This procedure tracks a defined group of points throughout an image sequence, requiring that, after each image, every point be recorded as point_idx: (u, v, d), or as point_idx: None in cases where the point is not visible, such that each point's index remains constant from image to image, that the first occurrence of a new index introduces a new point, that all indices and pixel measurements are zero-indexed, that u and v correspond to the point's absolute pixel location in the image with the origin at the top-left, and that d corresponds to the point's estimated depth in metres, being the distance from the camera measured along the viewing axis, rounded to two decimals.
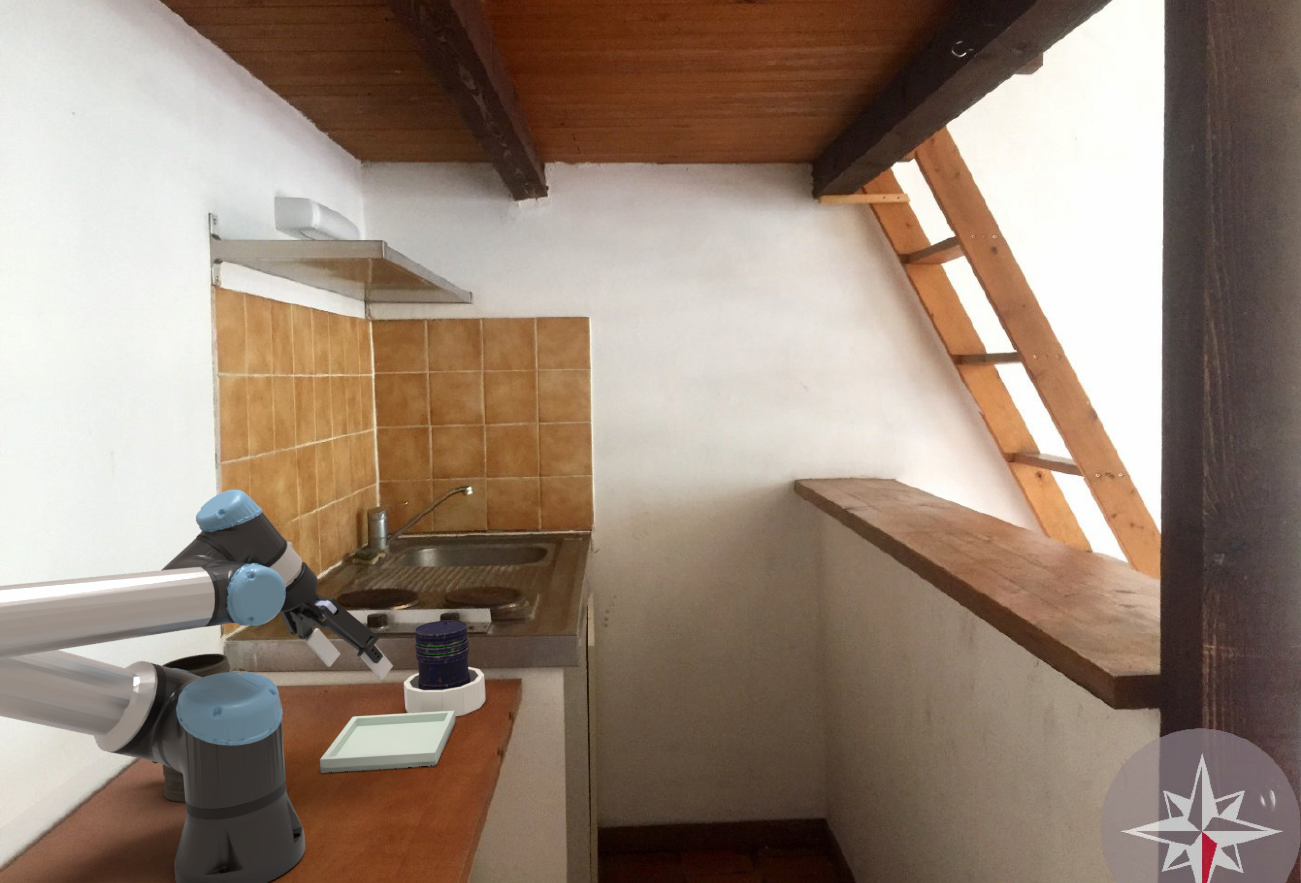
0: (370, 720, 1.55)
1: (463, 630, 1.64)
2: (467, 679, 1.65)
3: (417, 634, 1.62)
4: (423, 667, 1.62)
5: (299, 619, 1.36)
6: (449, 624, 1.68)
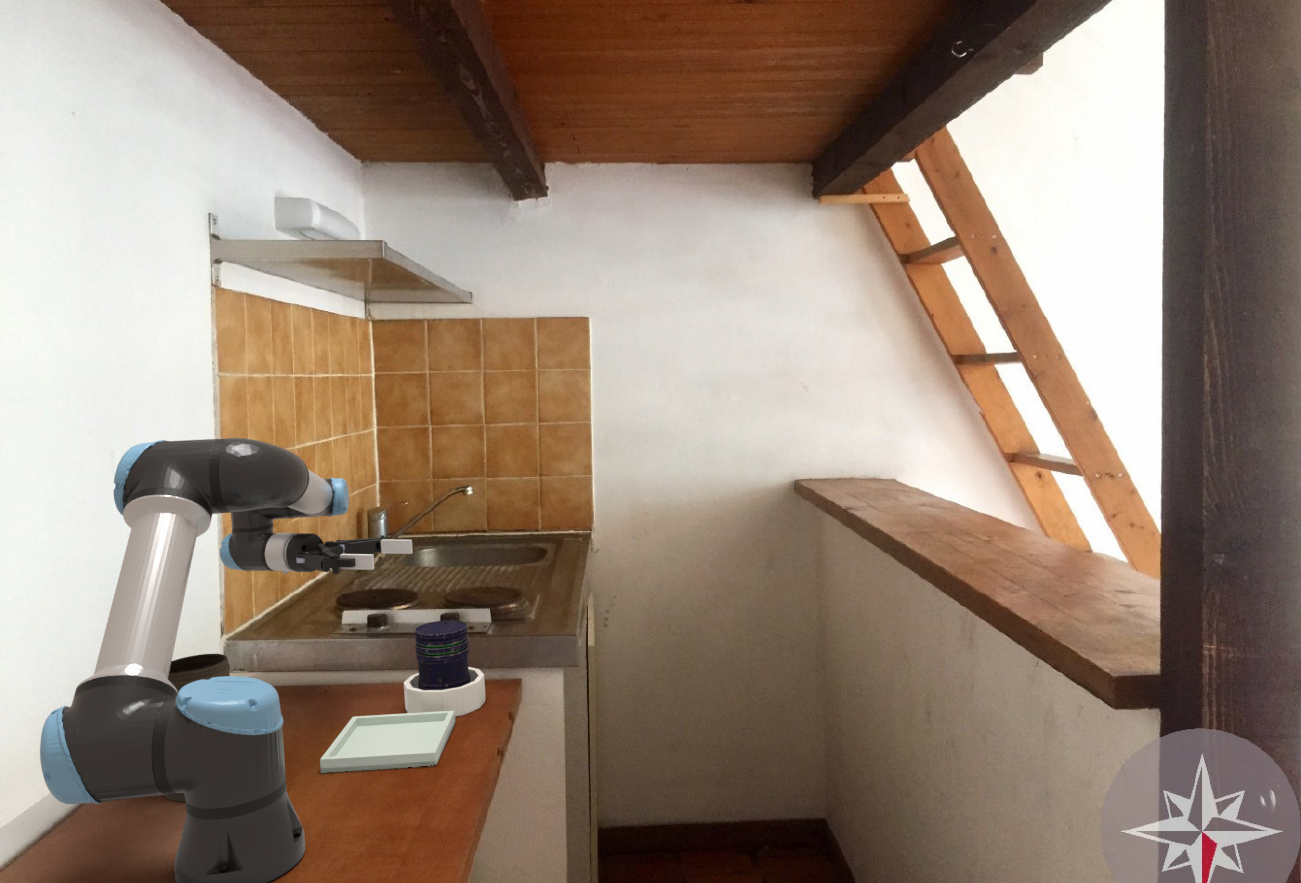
0: (370, 720, 1.55)
1: (463, 630, 1.64)
2: (467, 679, 1.65)
3: (417, 634, 1.62)
4: (423, 667, 1.62)
5: None
6: (449, 624, 1.68)
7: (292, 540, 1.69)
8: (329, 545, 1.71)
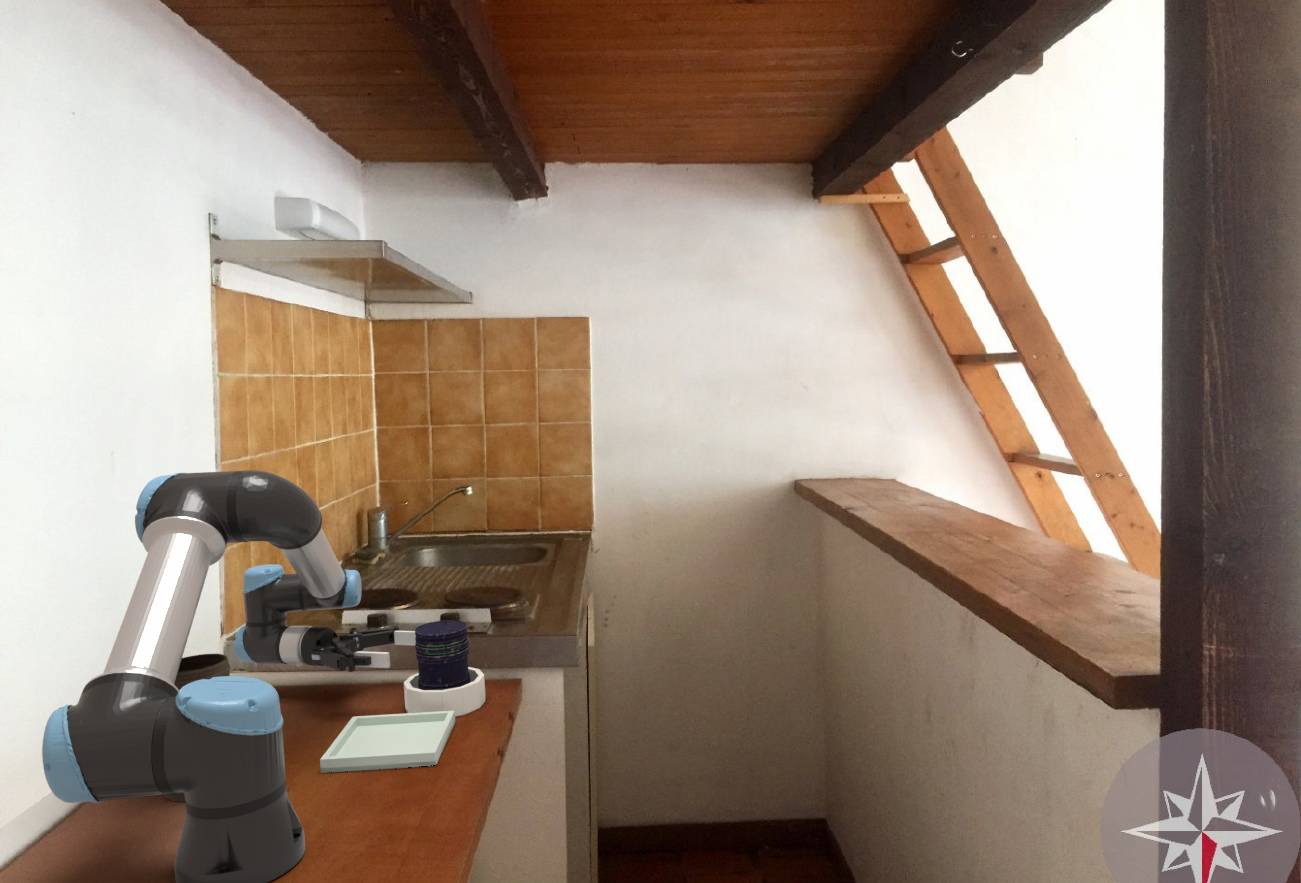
0: (370, 720, 1.55)
1: (463, 630, 1.64)
2: (467, 679, 1.65)
3: (417, 634, 1.62)
4: (423, 667, 1.62)
5: None
6: (449, 624, 1.68)
7: (307, 635, 1.70)
8: (343, 638, 1.72)
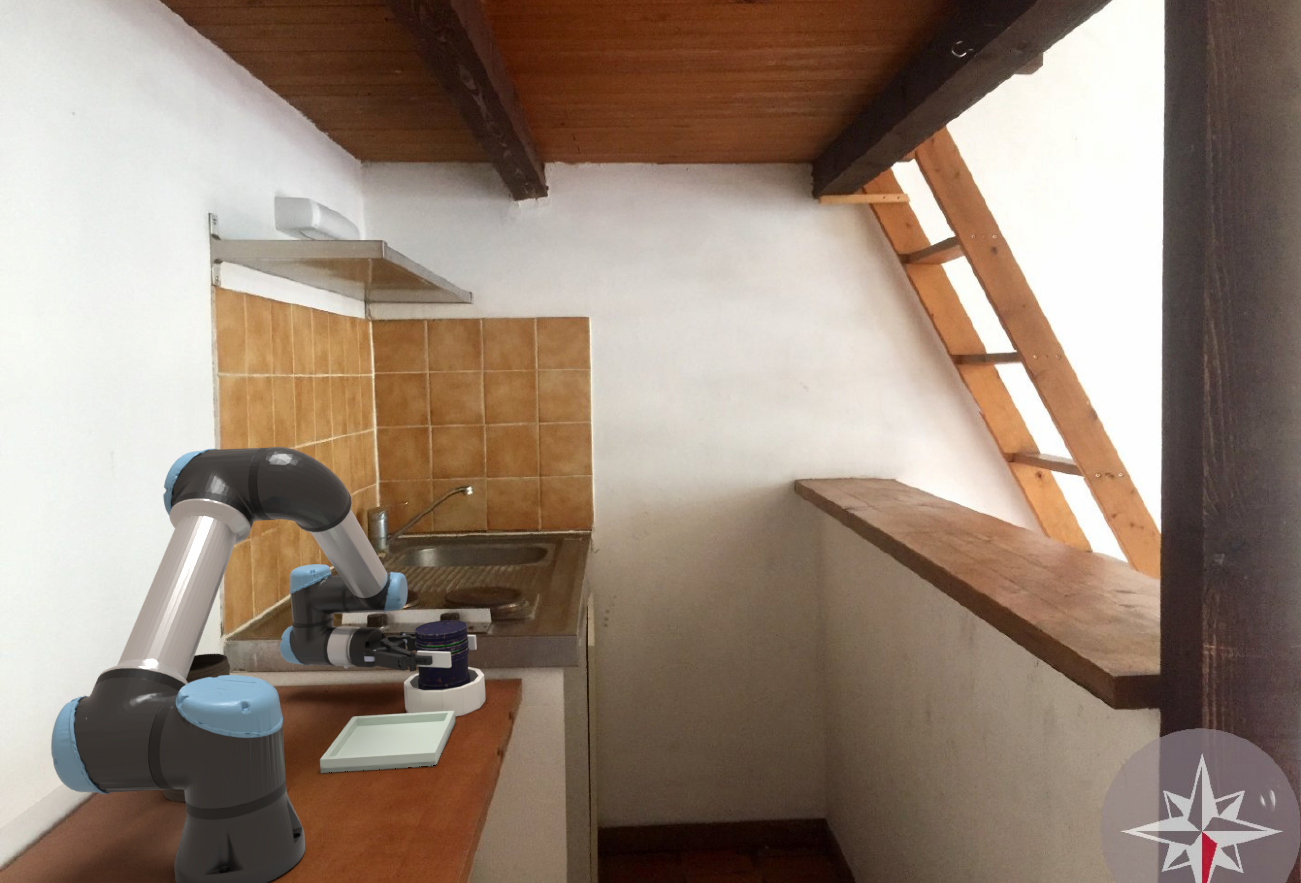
0: (370, 720, 1.55)
1: (463, 630, 1.64)
2: (467, 678, 1.65)
3: (417, 634, 1.62)
4: (423, 667, 1.62)
5: None
6: (449, 624, 1.68)
7: (355, 636, 1.67)
8: (392, 640, 1.69)
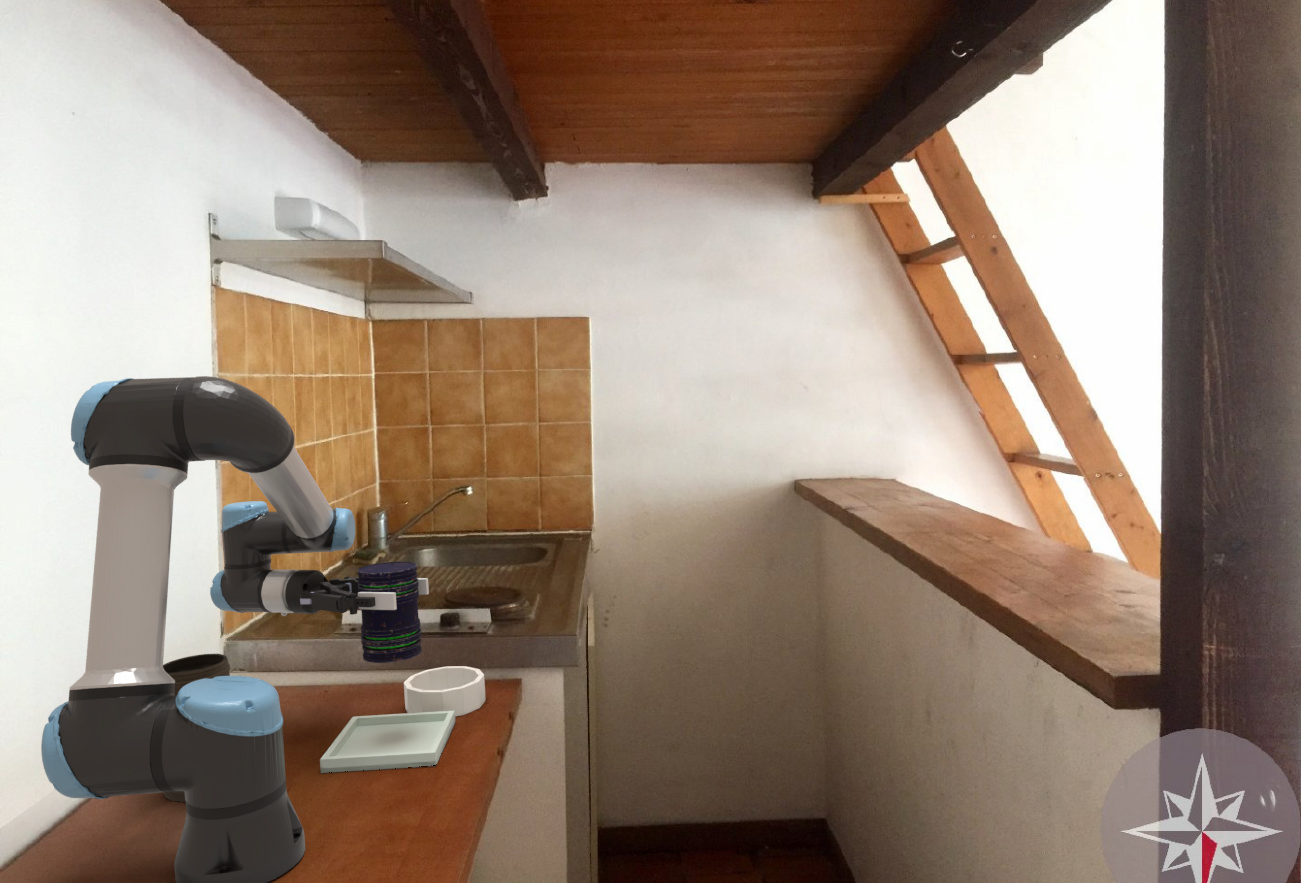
0: (370, 720, 1.55)
1: (411, 570, 1.46)
2: (416, 625, 1.47)
3: (359, 573, 1.45)
4: (366, 610, 1.44)
5: None
6: (397, 565, 1.50)
7: (293, 578, 1.50)
8: (334, 583, 1.51)
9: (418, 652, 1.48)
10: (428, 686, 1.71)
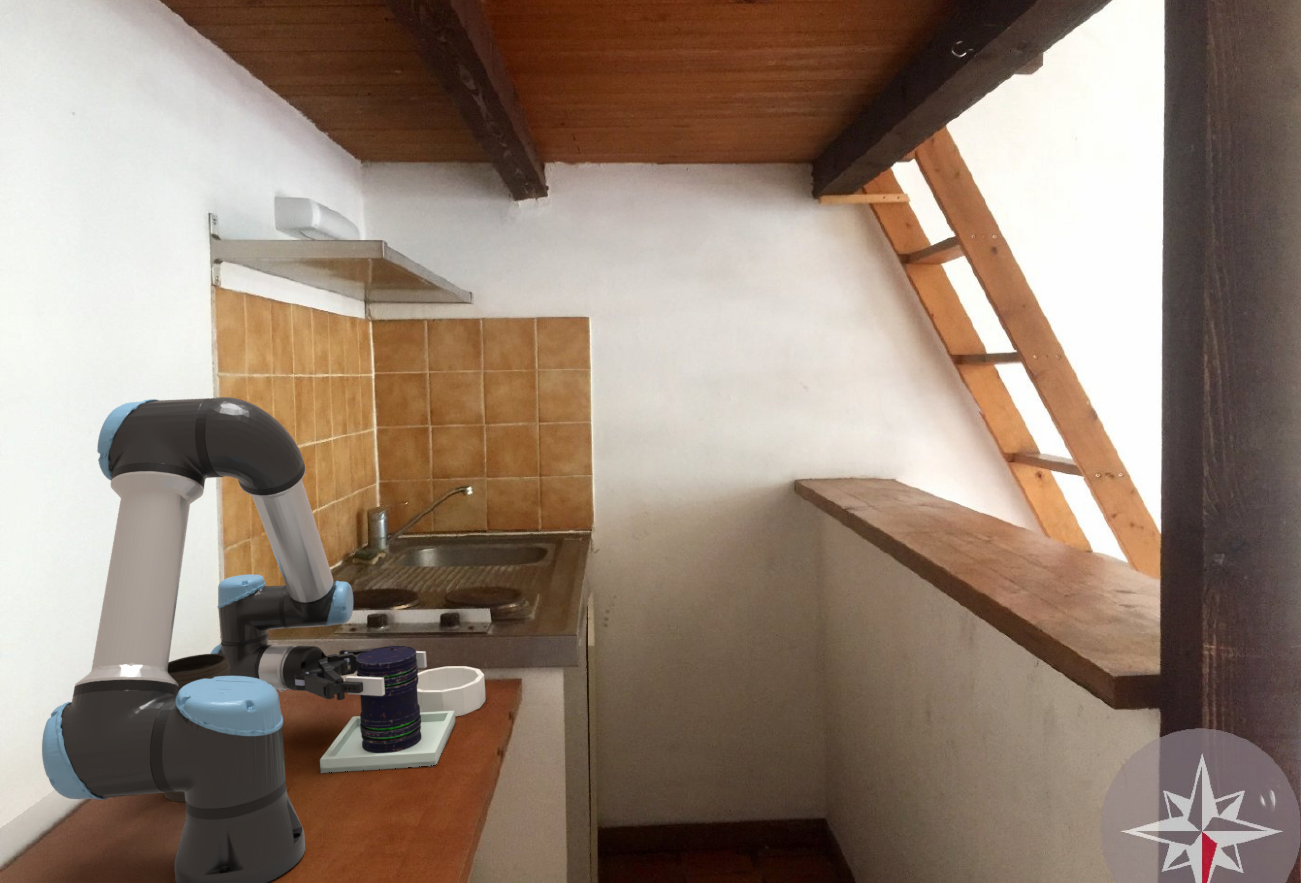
0: None
1: (411, 658, 1.45)
2: (416, 712, 1.46)
3: (358, 663, 1.44)
4: (365, 700, 1.43)
5: None
6: (396, 650, 1.49)
7: (290, 655, 1.48)
8: (332, 660, 1.50)
9: (418, 740, 1.47)
10: (428, 686, 1.71)
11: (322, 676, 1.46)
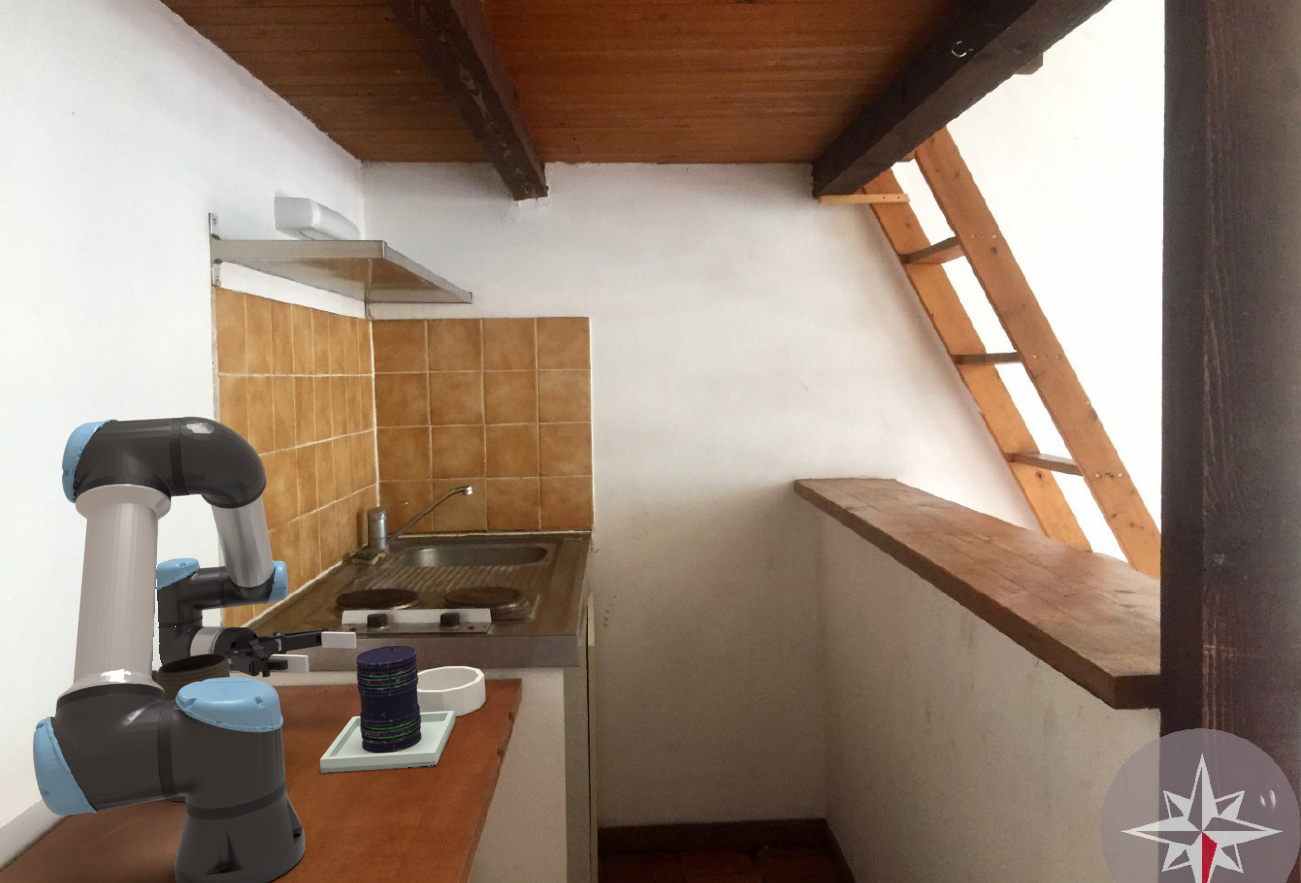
0: None
1: (411, 658, 1.45)
2: (416, 712, 1.46)
3: (358, 663, 1.44)
4: (365, 700, 1.43)
5: None
6: (396, 650, 1.49)
7: (221, 636, 1.52)
8: (263, 640, 1.54)
9: (418, 739, 1.47)
10: (428, 686, 1.71)
11: (251, 655, 1.50)
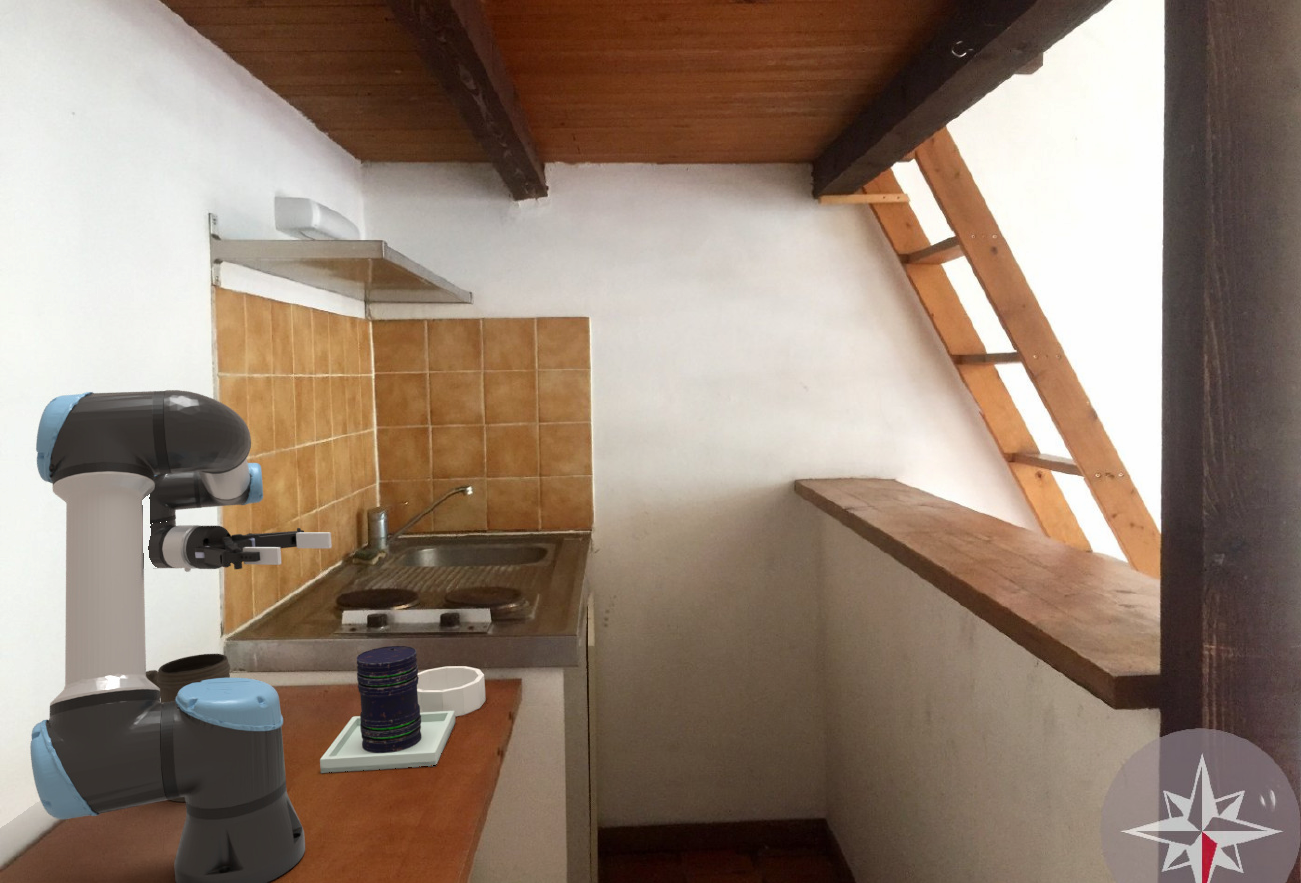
0: None
1: (411, 658, 1.45)
2: (416, 712, 1.46)
3: (358, 663, 1.44)
4: (365, 700, 1.43)
5: None
6: (396, 650, 1.49)
7: (194, 533, 1.50)
8: (236, 539, 1.52)
9: (418, 740, 1.47)
10: (428, 686, 1.71)
11: None
